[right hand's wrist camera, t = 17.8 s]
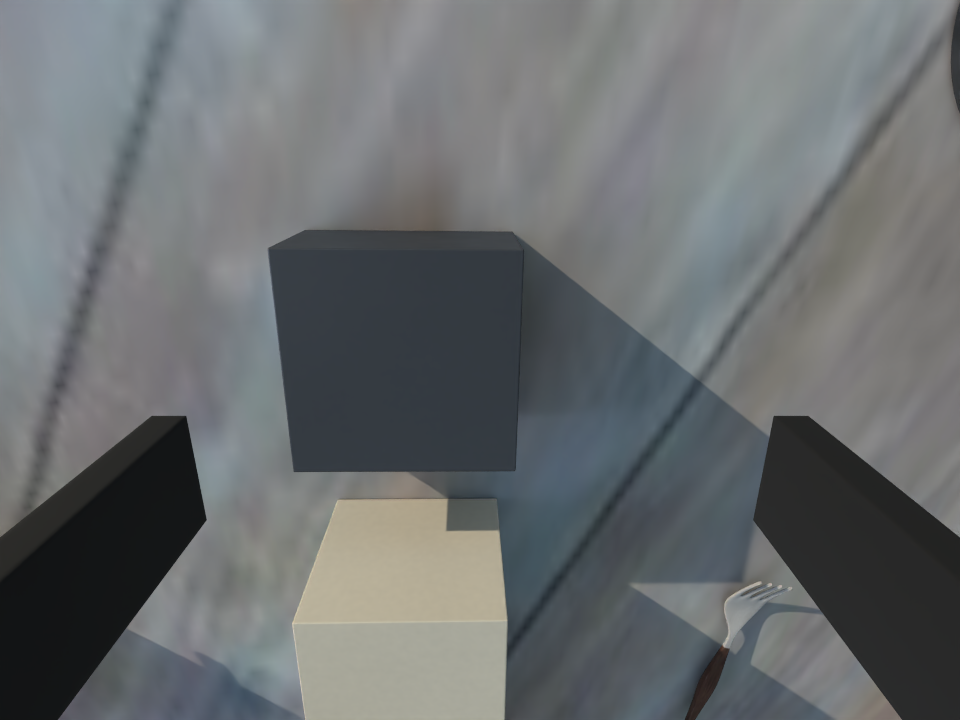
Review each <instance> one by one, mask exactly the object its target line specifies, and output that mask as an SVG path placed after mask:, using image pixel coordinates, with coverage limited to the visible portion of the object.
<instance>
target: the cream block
mask: <svg viewBox="0 0 960 720" xmlns="http://www.w3.org/2000/svg"><path fill="white" fill-rule="evenodd" d="M292 625H293V632H294V639H295V647H296V654H297V661H298V669H299V676H300V683H301V691H302V698H303V705H304V713H305V720H505V699H506V666H507V634H508V616H507V605H506V594H505V583H504V572H503V561H502V550H501V540H500V529H499V518H498V507H497V499H496V498H487V499H360V500H338V501H337V503H336V506H335V509H334V512H333V514H332V517H331V520H330V522H329V525H328V528H327V531H326V533H325V536H324V539H323V542H322V544H321V547H320V550H319V552H318V555H317V558H316V561H315V563H314V566H313V569H312V571H311V574H310V577H309V580H308V582H307V585H306V588H305V590H304V593H303V596H302V599H301V601H300V604H299V607H298V610H297V612H296V615H295V618H294V620H293V623H292Z"/></svg>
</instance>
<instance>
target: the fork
mask: <svg viewBox="0 0 960 720" xmlns="http://www.w3.org/2000/svg"><path fill="white" fill-rule="evenodd" d="M761 584H762V582H761V581H759V582H757V583H754V584H752V585H749V586H747V587H745V588H743V589H741V590H739V591H738V592H736V593H734V594H733V595H731V596H730V597H729V598H728V599H727V600H726V602H725V605H724V612H725V617H726V621H727V624H728V631H729V632H728V636H727V638H726V640H725V642H724V643H723V645H722V646H721V648H720V649H719V650H718V652H717V653H716V655H715V656H714V658H713V659H712V661H711V662H710V663H709V665H708V666H707V668H706V669H705V671H704V673H703V674H702V676H701V678H700V680H699V683H698V685H697V688H696V691H695V694H694V697H693V700H692V703H691V705H690V708H689V711H688V713H687V716H686V718H685V720H695V719H696V717H697V716H698V714H699V713H700V711H701V710H702V708H703V707H704V705H705V703H706V702H707V700H708V699H709V697H710V696H711V694H712V693H713V691H714V689H715V687H716V685H717V683H718V681H719V678H720V675H721V673H722V670H723V667H724V664H725V661H726V658H727V655H728V652H729V649H730V646H731V644H732V641H733V639H734V637H735V636H736V634H737V633H738V632H739V630H740V629H741V628H742V627H743V626H744V625H745V624H746V623H747V622H748V621H749V620H750V619H751V618H752V617H753V616H754V615H755V614H756V613H757V612H758V611H759V610H760V609H761V608H762V607H763V606H764V605H765V604H766V603H767V602H768V601H769V600H771V599H773V598H774V597H776V596H778V595H780V594H783V593H785V592H787V591H790V590H792V589H793V588H792V587H789V588H786V589H783V590H781V591H778V592H776V593H773V594H771V595H769V596H767V597H765V598H763V599H760V598H762V597H763V596H765V595H767V594H769V593H771V592H773V591H775V590H778V589H780V588H782V585H779V586H776V587H773V588H771V589H769V590H766V591H764V592H762V593H760V594H758V595H756V596H754V597H751V596H752V595H754V594H755V593H757V592H759V591H761V590H763V589H765V588H768V587H771V586H772V583H769V584H766V585H764V586H761V587H759V588H757V589H755V590H752V591H750V592H749V593H747V594H744V595H741V594H743V593H744V592H746V591H748V590H750V589H752V588H754V587H756V586H758V585H761Z"/></svg>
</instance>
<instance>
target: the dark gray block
mask: <svg viewBox="0 0 960 720" xmlns="http://www.w3.org/2000/svg"><path fill="white" fill-rule="evenodd" d="M268 256H269V264H270V273H271V282H272V290H273V299H274V307H275V316H276V324H277V333H278V342H279V350H280V359H281V367H282V376H283V384H284V393H285V401H286V410H287V419H288V427H289V436H290V444H291V453H292V461H293V470H294V472H400V471H515V470H516V447H517V421H518V394H519V368H520V342H521V316H522V289H523V263H524V250H523V248H522V247H521V245H520V243H519V242H518V240H517V238H516V237H515V235H514V233H513V232H472V231H352V230H304V231H302V232H300V233H298V234H296V235H294V236H292V237H290V238H288V239H286V240H284V241H282V242H280V243H278V244H276V245H274V246H272V247H269V248H268Z"/></svg>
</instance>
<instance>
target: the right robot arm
mask: <svg viewBox="0 0 960 720" xmlns="http://www.w3.org/2000/svg"><path fill="white" fill-rule="evenodd" d="M951 72H952V83H953V90H954V95H955V99H956V103H957V106H958V109H959V112H960V4H959V8H958V12H957V16H956V21H955V26H954V32H953V39H952V50H951ZM206 520H207V519H206V514H205V509H204V504H203V499H202V494H201V489H200V484H199V479H198V474H197V469H196V463H195V458H194V453H193V448H192V443H191V438H190V433H189V428H188V423H187V418H186V416H151V417H150V418H149V419H148V420H146V421H145V422H144V423H143V424H141V425H140V426H139V427H138V428H136V429H135V430H134V431H133V432H131V433H130V434H129V435H128V436H126V437H125V438H124V439H123V440H121V441H120V442H119V443H118V444H116V445H115V446H114V447H113V448H111V449H110V450H109V451H108V452H106V453H105V454H104V455H103V456H101V457H100V458H99V459H98V460H96V461H95V462H94V463H93V464H91V465H90V466H89V467H88V468H86V469H85V470H84V471H83V472H81V473H80V474H79V475H78V476H76V477H75V478H74V479H73V480H71V481H70V482H69V483H68V484H66V485H65V486H64V487H63V488H61V489H60V490H59V491H58V492H56V493H55V494H54V495H53V496H51V497H50V498H49V499H48V500H46V501H45V502H44V503H43V504H41V505H40V506H39V507H38V508H36V509H35V510H34V511H33V512H31V513H30V514H29V515H28V516H26V517H25V518H24V519H23V520H21V521H20V522H19V523H18V524H16V525H15V526H14V527H13V528H11V529H10V530H9V531H8V532H6V533H5V534H4V535H3V536H1V537H0V720H58V719H59V717H60V716H61V715H62V713H63V712H64V711H65V709H66V708H67V707H68V705H69V704H70V703H71V701H72V700H73V699H74V697H75V696H76V695H77V693H78V692H79V691H80V689H81V688H82V687H83V685H84V684H85V683H86V681H87V680H88V679H89V677H90V676H91V674H92V673H93V672H94V670H95V669H96V668H97V666H98V665H99V664H100V662H101V661H102V660H103V658H104V657H105V656H106V654H107V653H108V652H109V650H110V649H111V648H112V646H113V645H114V644H115V642H116V641H117V640H118V638H119V637H120V636H121V634H122V633H123V632H124V630H125V629H126V628H127V626H128V625H129V623H130V622H131V621H132V619H133V618H134V617H135V615H136V614H137V613H138V611H139V610H140V609H141V607H142V606H143V605H144V603H145V602H146V601H147V599H148V598H149V597H150V595H151V594H152V593H153V591H154V590H155V589H156V587H157V586H158V585H159V583H160V582H161V581H162V579H163V578H164V577H165V575H166V574H167V572H168V571H169V570H170V568H171V567H172V566H173V564H174V563H175V562H176V560H177V559H178V558H179V556H180V555H181V554H182V552H183V551H184V550H185V548H186V547H187V546H188V544H189V543H190V542H191V540H192V539H193V538H194V536H195V535H196V534H197V532H198V531H199V530H200V528H201V527H202V526H203V524H204V523H205V522H206ZM753 520H754V522H755V523H756V524H757V526H758V527H759V528H760V530H761V531H762V532H763V534H764V535H765V536H766V538H767V539H768V540H769V542H770V543H771V544H772V546H773V547H774V548H775V550H776V551H777V552H778V554H779V555H780V556H781V558H782V559H783V560H784V562H785V563H786V564H787V566H788V567H789V568H790V570H791V571H792V572H793V574H794V575H795V577H796V578H797V579H798V581H799V582H800V583H801V585H802V586H803V587H804V589H805V590H806V591H807V593H808V594H809V595H810V597H811V598H812V599H813V601H814V602H815V603H816V605H817V606H818V607H819V609H820V610H821V611H822V613H823V614H824V615H825V617H826V618H827V619H828V621H829V622H830V623H831V625H832V626H833V628H834V629H835V630H836V632H837V633H838V634H839V636H840V637H841V638H842V640H843V641H844V642H845V644H846V645H847V646H848V648H849V649H850V650H851V652H852V653H853V654H854V656H855V657H856V658H857V660H858V661H859V662H860V664H861V665H862V666H863V668H864V669H865V670H866V672H867V673H868V674H869V676H870V677H871V679H872V680H873V681H874V683H875V684H876V685H877V687H878V688H879V689H880V691H881V692H882V693H883V695H884V696H885V697H886V699H887V700H888V701H889V703H890V704H891V705H892V707H893V708H894V709H895V711H896V712H897V713H898V715H899V716H900V717H901V719H902V720H960V537H959V536H957V535H956V534H955V533H954V532H952V531H951V530H950V529H949V528H947V527H946V526H945V525H944V524H942V523H941V522H940V521H939V520H937V519H936V518H935V517H934V516H932V515H931V514H930V513H929V512H927V511H926V510H925V509H924V508H922V507H921V506H920V505H919V504H917V503H916V502H915V501H914V500H912V499H911V498H910V497H909V496H907V495H906V494H905V493H904V492H902V491H901V490H900V489H899V488H897V487H896V486H895V485H894V484H892V483H891V482H890V481H889V480H887V479H886V478H885V477H884V476H882V475H881V474H880V473H879V472H877V471H876V470H875V469H874V468H872V467H871V466H870V465H869V464H867V463H866V462H865V461H864V460H862V459H861V458H860V457H859V456H857V455H856V454H855V453H854V452H852V451H851V450H850V449H849V448H847V447H846V446H845V445H844V444H842V443H841V442H840V441H839V440H837V439H836V438H835V437H834V436H832V435H831V434H830V433H829V432H827V431H826V430H825V429H824V428H822V427H821V426H820V425H819V424H817V423H816V422H815V421H814V420H812V419H811V418H810V417H809V416H774V418H773V423H772V428H771V433H770V438H769V443H768V448H767V453H766V458H765V463H764V469H763V474H762V479H761V484H760V489H759V494H758V499H757V504H756V509H755V514H754V519H753Z"/></svg>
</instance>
